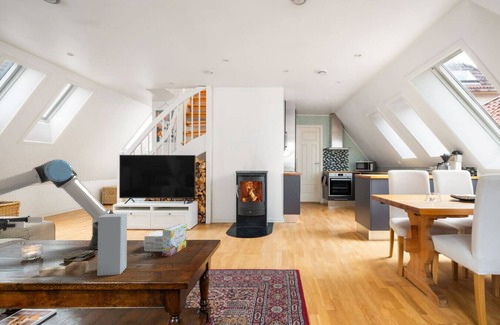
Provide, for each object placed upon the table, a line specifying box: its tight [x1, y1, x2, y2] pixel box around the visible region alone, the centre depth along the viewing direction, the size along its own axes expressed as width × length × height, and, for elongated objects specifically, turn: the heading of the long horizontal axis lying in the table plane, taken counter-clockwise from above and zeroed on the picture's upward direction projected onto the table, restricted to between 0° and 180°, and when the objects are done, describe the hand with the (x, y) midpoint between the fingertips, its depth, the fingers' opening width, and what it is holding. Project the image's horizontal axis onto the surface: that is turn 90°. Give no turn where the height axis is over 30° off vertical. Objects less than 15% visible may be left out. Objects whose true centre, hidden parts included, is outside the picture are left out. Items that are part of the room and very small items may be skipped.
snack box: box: [161, 223, 187, 258], centre depth 164 cm, size 21×6×15 cm, turn 168°
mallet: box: [38, 260, 89, 277], centre depth 128 cm, size 19×7×4 cm, turn 99°
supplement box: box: [143, 230, 163, 252], centre depth 173 cm, size 17×13×9 cm
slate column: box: [96, 212, 128, 277], centre depth 132 cm, size 10×10×27 cm
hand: (34, 222), depth 127 cm, fingers open, 13 cm apart
